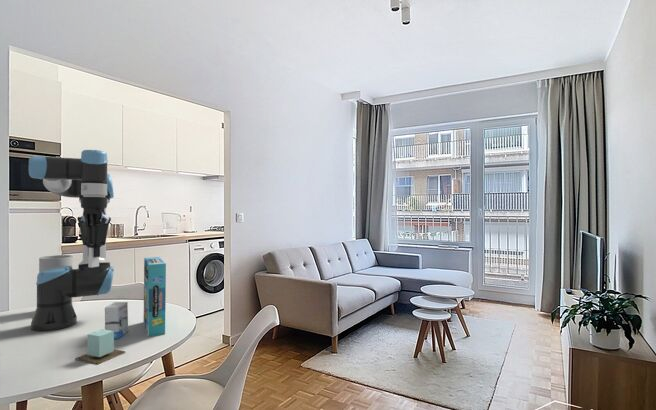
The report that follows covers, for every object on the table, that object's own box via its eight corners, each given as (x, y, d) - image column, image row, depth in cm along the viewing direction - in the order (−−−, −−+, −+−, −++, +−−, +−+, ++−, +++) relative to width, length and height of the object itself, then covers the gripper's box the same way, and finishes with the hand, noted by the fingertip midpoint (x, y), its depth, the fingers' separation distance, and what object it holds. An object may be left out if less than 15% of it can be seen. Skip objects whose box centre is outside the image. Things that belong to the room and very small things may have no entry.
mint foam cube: (87, 354, 121) (87, 334, 121) (102, 349, 126) (102, 329, 126) (99, 357, 119) (99, 336, 119) (113, 351, 124) (113, 331, 124)
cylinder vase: (75, 306, 182) (76, 254, 182) (67, 313, 170) (67, 258, 170) (45, 308, 178) (45, 255, 178) (33, 316, 166) (34, 259, 166)
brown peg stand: (75, 359, 120) (75, 337, 120) (103, 348, 129) (103, 328, 129) (97, 364, 116) (98, 341, 116) (125, 352, 126) (125, 331, 126)
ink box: (118, 339, 138) (118, 307, 138) (103, 339, 138) (103, 307, 138) (128, 331, 146) (128, 301, 147) (114, 332, 146) (115, 301, 146)
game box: (142, 322, 158) (143, 257, 158) (159, 319, 162) (159, 256, 162) (147, 337, 141) (147, 264, 141) (165, 334, 144) (166, 263, 144)
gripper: (69, 196, 126) (69, 267, 126) (98, 196, 121) (97, 269, 121) (90, 196, 133) (90, 263, 133) (118, 196, 128) (117, 266, 128)
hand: (93, 266), depth 127 cm, fingers closed
